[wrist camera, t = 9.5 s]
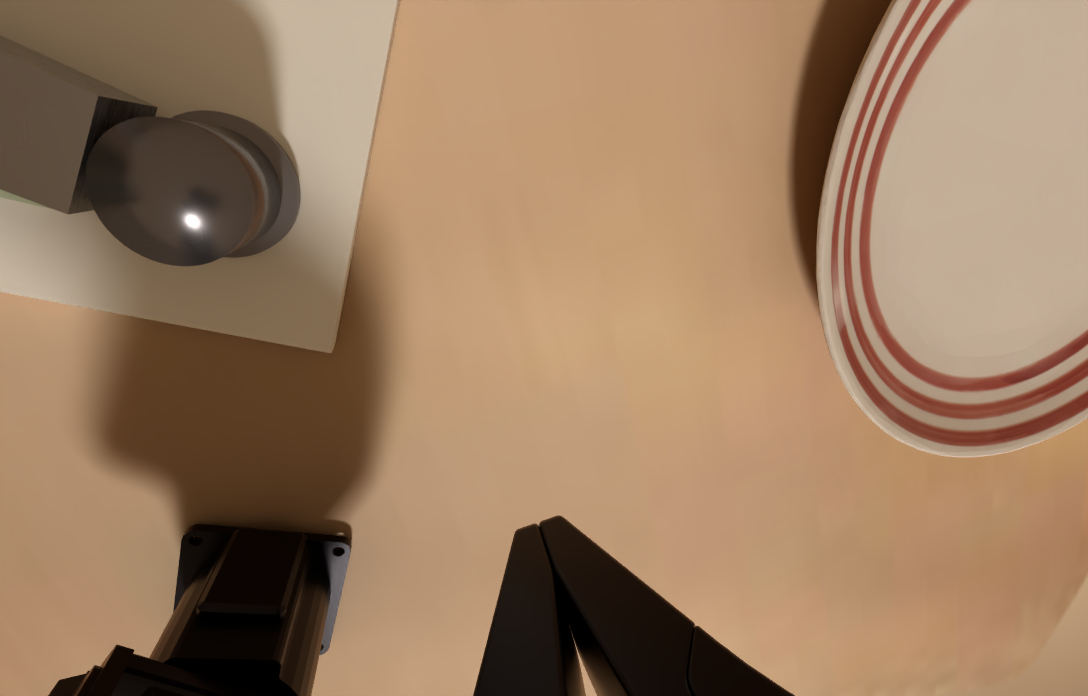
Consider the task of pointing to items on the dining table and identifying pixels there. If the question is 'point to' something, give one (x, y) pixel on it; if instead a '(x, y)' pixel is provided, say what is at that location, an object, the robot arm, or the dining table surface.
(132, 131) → the bar
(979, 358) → the dinner plate
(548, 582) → the robot arm
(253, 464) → the dining table surface
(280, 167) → the door board
